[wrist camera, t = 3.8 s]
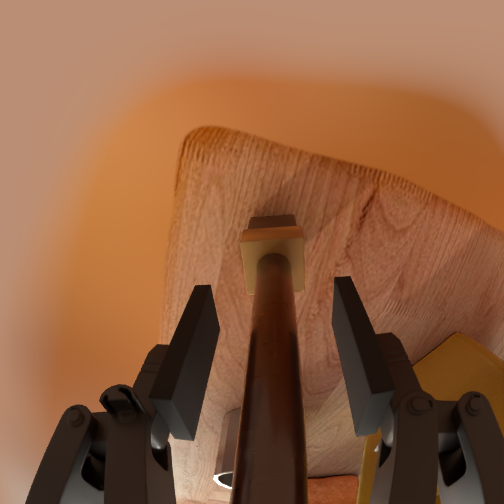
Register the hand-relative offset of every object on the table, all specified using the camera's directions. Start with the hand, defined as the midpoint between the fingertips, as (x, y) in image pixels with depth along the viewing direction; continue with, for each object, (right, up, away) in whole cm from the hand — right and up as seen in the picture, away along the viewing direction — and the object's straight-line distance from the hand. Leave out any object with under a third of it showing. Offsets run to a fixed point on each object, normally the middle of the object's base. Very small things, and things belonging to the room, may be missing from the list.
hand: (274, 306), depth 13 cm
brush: (+1, +4, +8) cm, 9 cm away
